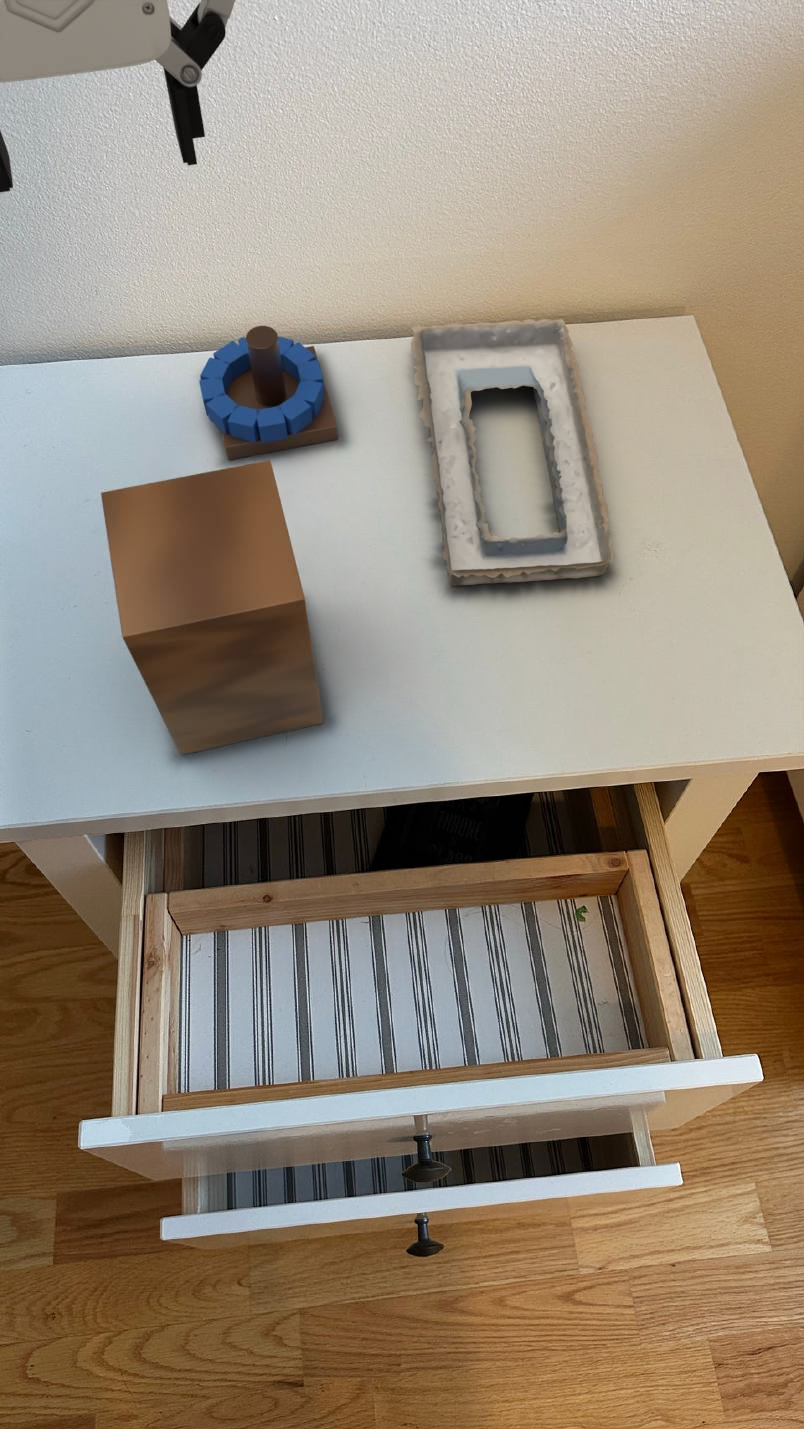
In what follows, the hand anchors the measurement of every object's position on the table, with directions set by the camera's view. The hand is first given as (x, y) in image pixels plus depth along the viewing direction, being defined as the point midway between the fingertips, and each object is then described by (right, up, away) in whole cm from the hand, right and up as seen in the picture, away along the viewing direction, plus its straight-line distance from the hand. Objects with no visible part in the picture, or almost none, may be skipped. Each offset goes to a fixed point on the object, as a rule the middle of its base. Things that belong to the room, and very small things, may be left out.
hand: (97, 162), depth 52 cm
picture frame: (+24, -9, +26) cm, 37 cm away
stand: (+5, -27, +17) cm, 32 cm away
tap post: (+6, -4, +28) cm, 29 cm away
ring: (+5, -4, +27) cm, 28 cm away
